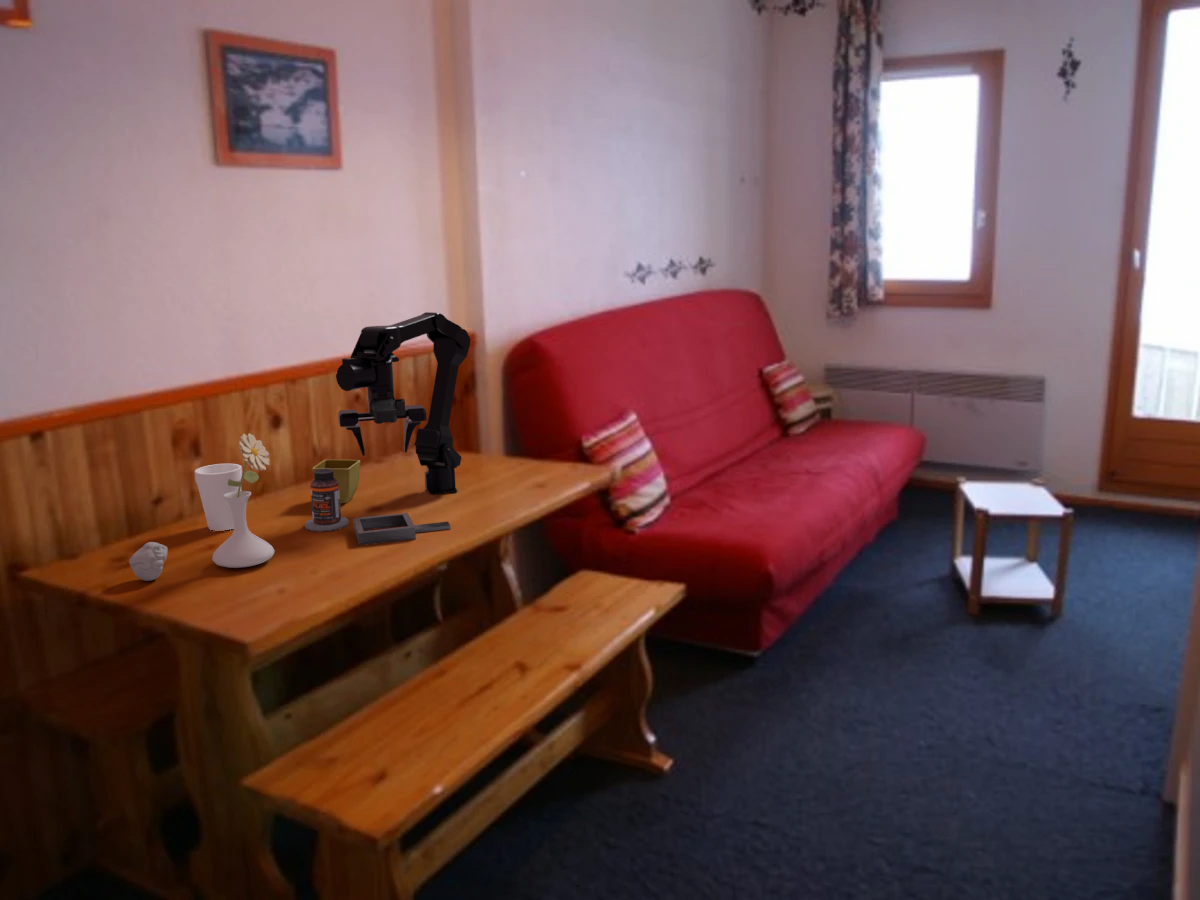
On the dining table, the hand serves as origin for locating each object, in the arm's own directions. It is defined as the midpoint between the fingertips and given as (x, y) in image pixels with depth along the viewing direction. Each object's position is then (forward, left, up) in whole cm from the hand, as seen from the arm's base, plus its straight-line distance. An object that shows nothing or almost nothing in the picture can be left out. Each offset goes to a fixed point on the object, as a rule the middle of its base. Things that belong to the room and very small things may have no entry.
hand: (384, 453), depth 230 cm
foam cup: (+35, 0, -13) cm, 37 cm away
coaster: (+14, +7, -13) cm, 20 cm away
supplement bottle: (+14, +7, -13) cm, 20 cm away
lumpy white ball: (+47, +30, -13) cm, 57 cm away
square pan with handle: (-1, +18, -13) cm, 22 cm away
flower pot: (+10, -12, -13) cm, 20 cm away
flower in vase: (+30, +26, -13) cm, 42 cm away
